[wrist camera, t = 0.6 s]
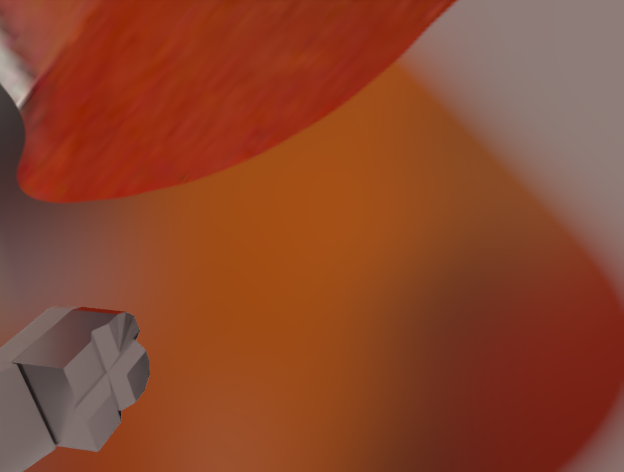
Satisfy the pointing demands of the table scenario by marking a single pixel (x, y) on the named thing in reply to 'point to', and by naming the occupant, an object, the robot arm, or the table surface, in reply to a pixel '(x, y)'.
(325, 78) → the table surface
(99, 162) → the table surface
